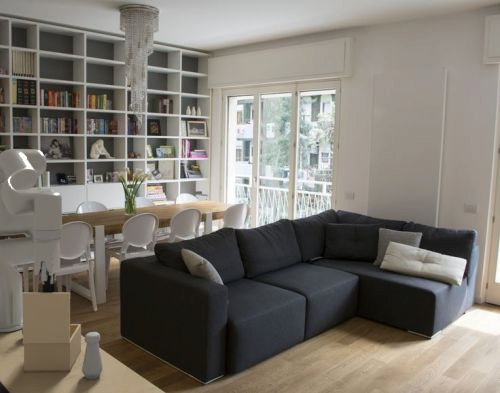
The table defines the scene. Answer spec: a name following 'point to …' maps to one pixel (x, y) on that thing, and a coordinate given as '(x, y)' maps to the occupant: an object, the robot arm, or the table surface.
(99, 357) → the salt shaker
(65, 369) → the carton
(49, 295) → the flap
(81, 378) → the table surface
